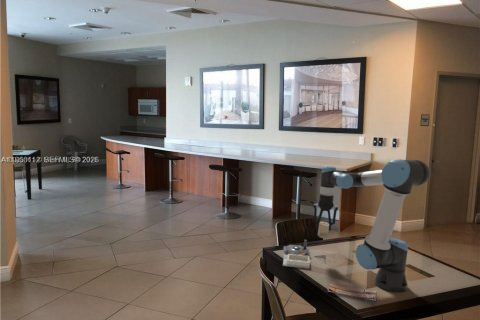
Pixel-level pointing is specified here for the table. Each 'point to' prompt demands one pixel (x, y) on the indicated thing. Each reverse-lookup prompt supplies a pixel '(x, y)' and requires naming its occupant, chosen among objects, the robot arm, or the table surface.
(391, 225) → the robot arm
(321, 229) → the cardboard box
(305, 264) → the base plate
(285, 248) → the sprocket
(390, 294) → the table surface
